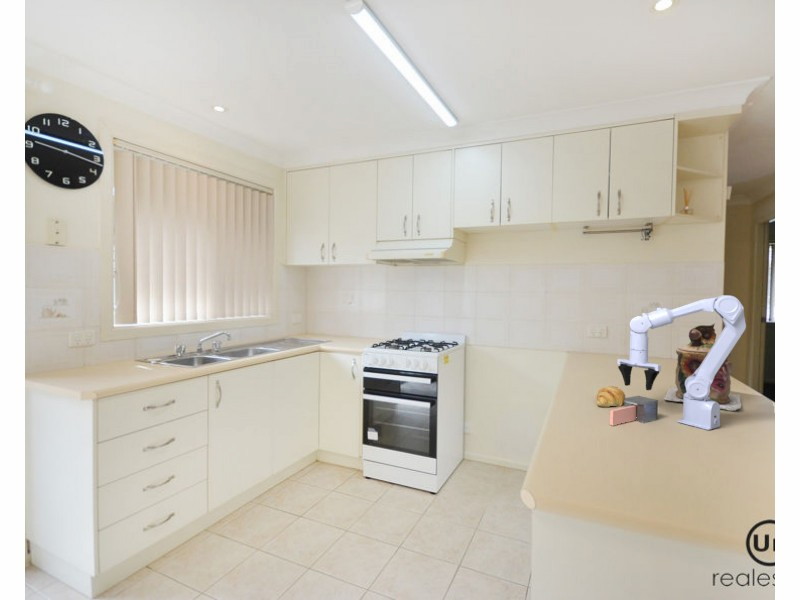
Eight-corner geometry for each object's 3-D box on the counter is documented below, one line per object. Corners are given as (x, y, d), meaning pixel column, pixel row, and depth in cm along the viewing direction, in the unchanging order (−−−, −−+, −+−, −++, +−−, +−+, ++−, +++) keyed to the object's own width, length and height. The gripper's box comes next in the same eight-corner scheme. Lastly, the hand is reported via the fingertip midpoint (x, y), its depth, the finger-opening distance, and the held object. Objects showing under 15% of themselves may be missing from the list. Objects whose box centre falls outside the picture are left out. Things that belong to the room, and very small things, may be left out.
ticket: (636, 419, 138) (636, 405, 138) (612, 425, 132) (613, 411, 132) (633, 419, 139) (633, 405, 139) (609, 424, 133) (610, 410, 133)
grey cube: (657, 419, 139) (657, 400, 139) (643, 423, 135) (644, 403, 135) (637, 414, 145) (638, 395, 145) (624, 417, 141) (624, 398, 141)
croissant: (606, 419, 151) (617, 402, 148) (582, 401, 157) (592, 385, 154) (627, 407, 165) (638, 392, 162) (605, 391, 171) (615, 376, 168)
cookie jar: (669, 390, 182) (671, 319, 181) (740, 400, 166) (742, 323, 166) (662, 401, 163) (664, 322, 162) (742, 413, 147) (744, 326, 147)
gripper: (612, 347, 148) (611, 384, 148) (653, 353, 135) (652, 393, 136) (624, 346, 152) (623, 382, 152) (664, 351, 139) (664, 391, 139)
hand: (637, 387), depth 144 cm, fingers open, 7 cm apart
